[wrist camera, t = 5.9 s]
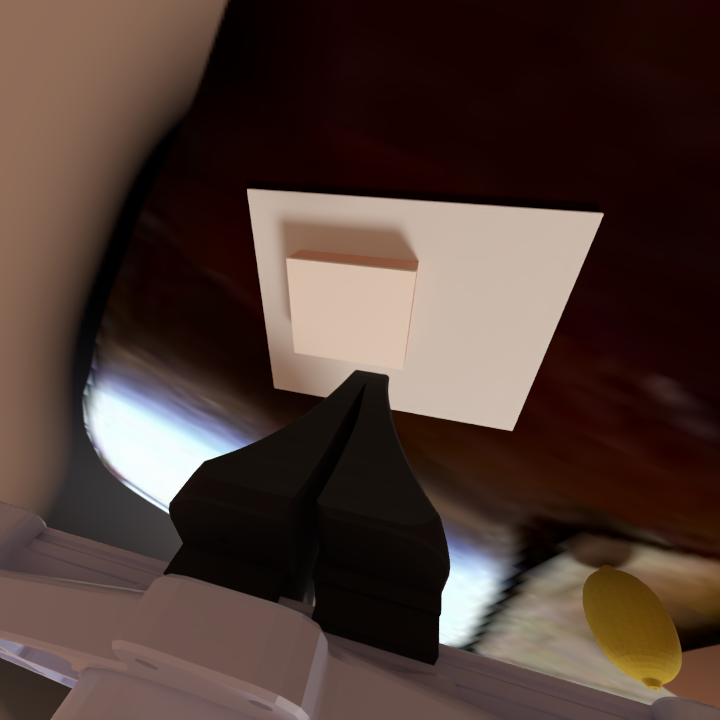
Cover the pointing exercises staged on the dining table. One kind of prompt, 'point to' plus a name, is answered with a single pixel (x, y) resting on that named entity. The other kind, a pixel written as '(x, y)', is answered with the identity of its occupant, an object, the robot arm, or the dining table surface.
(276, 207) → the mat
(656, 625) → the lemon
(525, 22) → the dining table surface
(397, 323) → the tile
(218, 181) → the dining table surface
